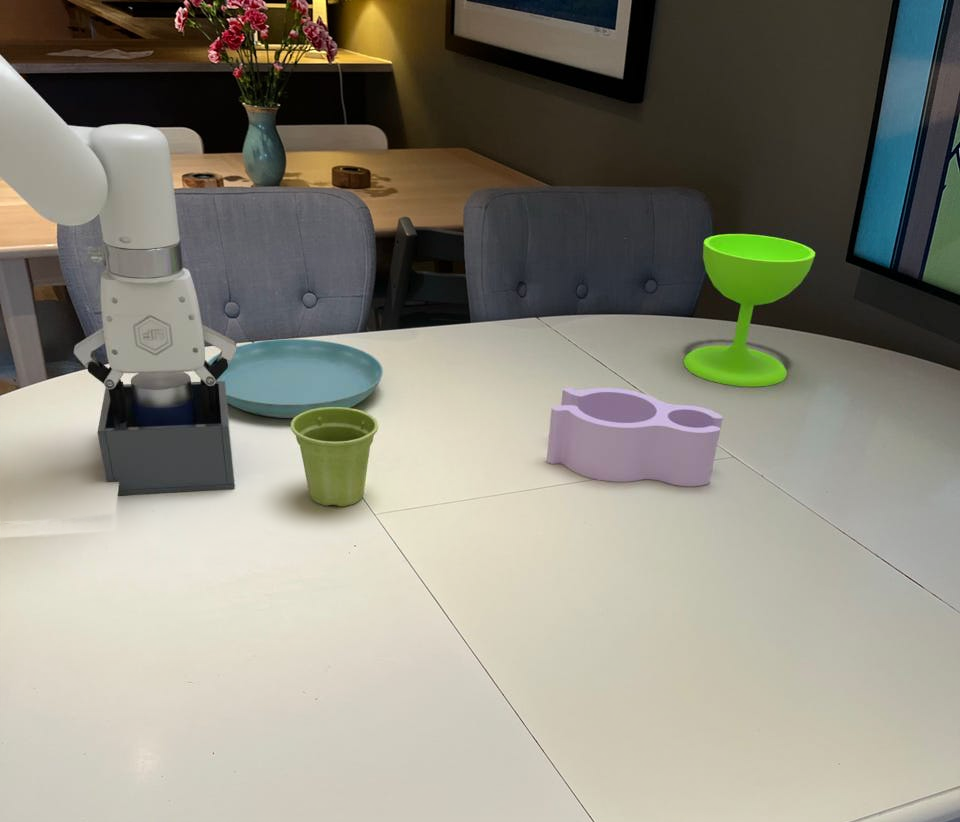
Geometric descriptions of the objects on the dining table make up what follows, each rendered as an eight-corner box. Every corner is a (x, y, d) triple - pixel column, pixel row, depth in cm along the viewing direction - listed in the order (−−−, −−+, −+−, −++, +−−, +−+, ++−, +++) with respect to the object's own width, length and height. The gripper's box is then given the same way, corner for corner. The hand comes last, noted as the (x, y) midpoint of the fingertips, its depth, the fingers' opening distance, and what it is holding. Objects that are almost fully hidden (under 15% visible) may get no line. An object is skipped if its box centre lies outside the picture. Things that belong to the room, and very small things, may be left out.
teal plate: (169, 388, 135) (166, 364, 134) (304, 349, 151) (303, 328, 149) (283, 442, 123) (282, 417, 121) (418, 394, 138) (419, 371, 136)
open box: (108, 496, 109) (97, 431, 105) (116, 445, 120) (105, 384, 116) (234, 488, 112) (228, 425, 108) (230, 439, 123) (225, 380, 119)
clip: (715, 456, 126) (725, 404, 122) (706, 497, 116) (717, 443, 112) (562, 431, 130) (567, 380, 126) (541, 470, 120) (546, 416, 116)
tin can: (142, 475, 112) (128, 391, 107) (144, 451, 118) (131, 369, 112) (201, 472, 114) (191, 388, 108) (200, 448, 119) (190, 367, 113)
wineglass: (718, 390, 146) (743, 264, 135) (664, 354, 158) (683, 236, 147) (808, 381, 151) (838, 259, 140) (748, 347, 163) (772, 232, 152)
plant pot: (395, 496, 113) (396, 425, 108) (332, 523, 107) (329, 449, 102) (341, 470, 118) (339, 400, 113) (277, 494, 112) (272, 421, 107)
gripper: (51, 270, 98) (82, 433, 108) (231, 268, 102) (245, 426, 111) (59, 250, 104) (88, 407, 114) (229, 249, 107) (242, 401, 117)
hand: (166, 416), depth 112 cm, fingers open, 8 cm apart
